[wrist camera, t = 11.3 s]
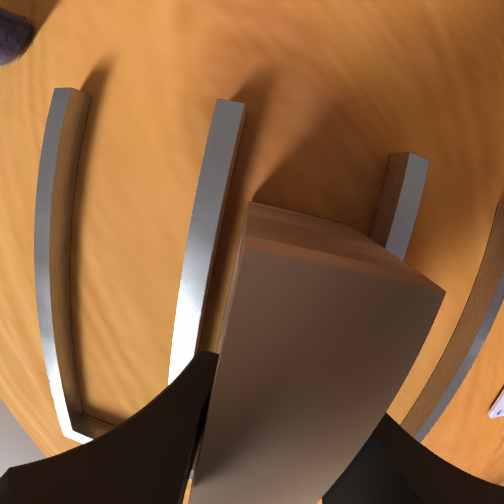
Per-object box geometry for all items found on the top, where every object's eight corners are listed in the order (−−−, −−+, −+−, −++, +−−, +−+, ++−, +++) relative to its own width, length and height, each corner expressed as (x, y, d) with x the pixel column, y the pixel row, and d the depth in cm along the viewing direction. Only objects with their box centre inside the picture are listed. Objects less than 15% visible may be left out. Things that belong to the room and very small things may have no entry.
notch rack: (508, 207, 10) (545, 218, 7) (374, 471, 14) (383, 500, 12) (76, 94, 9) (37, 83, 7) (73, 419, 14) (56, 446, 11)
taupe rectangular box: (348, 224, 10) (446, 291, 4) (275, 428, 13) (283, 535, 7) (248, 200, 10) (244, 247, 4) (202, 417, 13) (184, 526, 7)
